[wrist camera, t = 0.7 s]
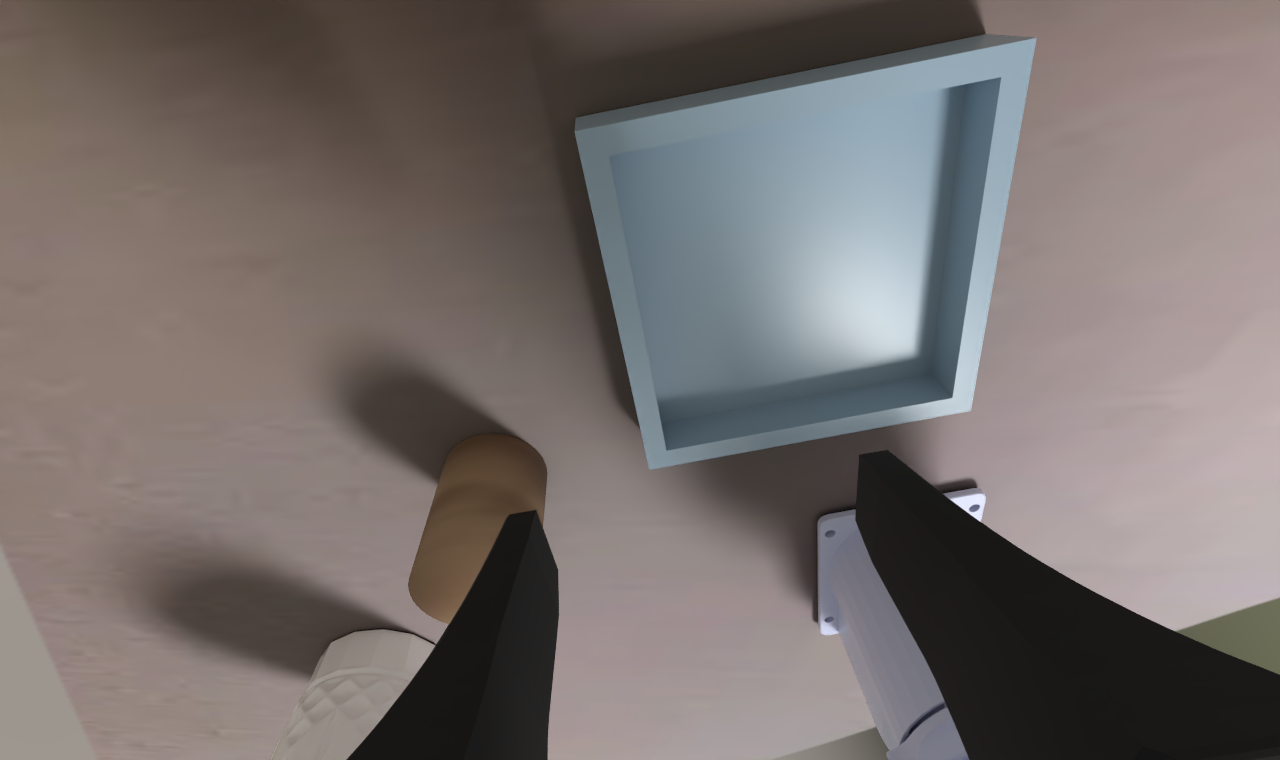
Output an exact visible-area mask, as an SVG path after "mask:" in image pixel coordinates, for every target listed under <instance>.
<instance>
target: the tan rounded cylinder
mask: <svg viewBox="0 0 1280 760" xmlns="http://www.w3.org/2000/svg"><path fill="white" fill-rule="evenodd" d="M546 483H547V468H546V464H545V462H544V460H543V458H542V456H541V455H540V454H539V452H538V451H537V450H536V449H535V448H533V447H532V446H531V445H530V444H528V443H527V442H525V441H523V440H521V439H518V438H516V437H513V436H509V435H505V434H496V433H490V434H480V435H476V436H472V437H470V438H467V439H465V440H463V441H461V442H460V443H458V444H457V445H456V446H455V447H454V448H453V449H452V450H451V451H450V452H449V454H448V456H447V458H446V460H445V463H444V467H443V470H442V473H441V476H440V480H439V483H438V486H437V489H436V493H435V496H434V499H433V502H432V506H431V509H430V512H429V515H428V519H427V522H426V525H425V528H424V532H423V535H422V538H421V541H420V545H419V548H418V551H417V554H416V558H415V561H414V564H413V567H412V571H411V574H410V577H409V583H408V587H409V592H410V595H411V597H412V599H413V601H414V602H415V604H416V605H417V606H418V607H419V608H420V609H421V610H422V611H424V612H425V613H426V614H428V615H429V616H431V617H433V618H435V619H437V620H439V621H442V622H444V623H447V624H450V622H451V620H452V619H453V617H454V615H455V614H456V612H457V611H458V609H459V607H460V606H461V604H462V602H463V601H464V599H465V597H466V595H467V593H468V592H469V590H470V588H471V586H472V584H473V583H474V581H475V579H476V577H477V575H478V573H479V572H480V570H481V568H482V566H483V564H484V562H485V560H486V558H487V556H488V554H489V552H490V550H491V548H492V546H493V544H494V542H495V540H496V538H497V536H498V534H499V532H500V530H501V528H502V526H503V524H504V522H505V519H506V518H507V517H508V515H509V514H514V513H520V512H526V511H532V510H536V511H537V513H538V516H539V519H540V522H541V524H542V527H543V519H544V507H545V495H546Z"/></svg>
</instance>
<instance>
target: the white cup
mask: <svg viewBox="0 0 1280 760" xmlns="http://www.w3.org/2000/svg"><path fill="white" fill-rule="evenodd" d="M434 647H435V645H434V644H432V643H430V642H428V641H426V640H424V639H422V638H420V637H418V636H415V635H413V634H409V633H404V632H398V631H392V630H386V629H380V630H368V631H358V632H353V633H351V634H349V635H346V636H344V637H342V638H339V639H337V640H335V641H333V642H331V644H330V645H329V646H328V648H327V649H326V651H325V652H324V653H323V655H322V656H321V658H320V659H319V662H318V664H317V666H316V668H315V670H314V673H313V675H312V677H311V679H310V681H309V684H308V686H307V688H306V690H305V693H304V695H303V696H302V697H301V698H300V699H299V701H298V703H297V705H296V707H295V709H294V711H293V713H292V715H291V717H290V720H289V722H288V723H287V725H286V727H285V729H284V731H283V733H282V735H281V737H280V739H279V741H278V743H277V745H276V747H275V749H274V751H273V754H272V756H271V758H270V760H346V759H347V758H348V757H349V756H350V755H351V754H352V753H353V752H354V750H355V749H356V748H357V747H358V746H359V745H360V744H361V743H362V742H363V740H364V739H365V738H366V737H367V736H368V735H369V733H370V732H371V731H372V730H373V729H374V728H375V726H376V725H377V724H378V723H379V721H380V720H381V719H382V718H383V717H384V715H385V714H386V713H387V711H388V710H389V709H390V708H391V706H392V705H393V704H394V702H395V701H396V700H397V699H398V697H399V696H400V695H401V693H402V692H403V691H404V690H405V688H406V687H407V686H408V684H409V683H410V682H411V680H412V679H413V677H414V676H415V675H416V673H417V672H418V671H419V669H420V668H421V666H422V665H423V664H424V662H425V661H426V659H427V658H428V656H429V655H430V653H431V652H432V650H433V649H434Z"/></svg>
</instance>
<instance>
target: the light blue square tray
mask: <svg viewBox="0 0 1280 760" xmlns="http://www.w3.org/2000/svg"><path fill="white" fill-rule="evenodd" d="M1035 44H1036V38H1032V37H1019V36H1006V35H994V34H984V35H979V36H975V37H970V38H965V39H960V40H955V41H950V42H945V43H940V44H935V45H930V46H925V47H921V48H916V49H911V50H906V51H901V52H896V53H891V54H886V55H881V56H876V57H871V58H866V59H862V60H857V61H852V62H847V63H842V64H837V65H832V66H827V67H822V68H817V69H812V70H808V71H803V72H798V73H793V74H788V75H783V76H778V77H773V78H768V79H763V80H758V81H753V82H749V83H744V84H739V85H734V86H729V87H724V88H719V89H714V90H709V91H704V92H699V93H695V94H690V95H685V96H680V97H675V98H670V99H665V100H660V101H655V102H650V103H645V104H640V105H636V106H631V107H626V108H621V109H616V110H611V111H606V112H601V113H596V114H591V115H586V116H581V117H577V118H576V120H575V130H574V132H575V137H576V141H577V146H578V150H579V155H580V159H581V164H582V168H583V173H584V177H585V182H586V186H587V191H588V195H589V200H590V204H591V209H592V213H593V218H594V222H595V227H596V231H597V236H598V240H599V245H600V249H601V254H602V258H603V263H604V267H605V272H606V276H607V281H608V285H609V290H610V294H611V299H612V303H613V308H614V312H615V317H616V321H617V326H618V330H619V335H620V340H621V344H622V349H623V353H624V358H625V362H626V367H627V371H628V376H629V380H630V385H631V389H632V394H633V398H634V403H635V407H636V412H637V416H638V421H639V425H640V430H641V434H642V439H643V443H644V448H645V452H646V457H647V461H648V466H649V470H652V469H657V468H663V467H668V466H673V465H679V464H684V463H690V462H695V461H701V460H706V459H712V458H717V457H722V456H728V455H733V454H739V453H744V452H750V451H755V450H761V449H766V448H771V447H777V446H782V445H788V444H793V443H799V442H804V441H810V440H815V439H820V438H826V437H831V436H837V435H842V434H848V433H853V432H859V431H864V430H870V429H875V428H880V427H886V426H891V425H897V424H902V423H908V422H913V421H919V420H924V419H929V418H935V417H940V416H946V415H951V414H957V413H962V412H968V411H971V406H972V400H973V395H974V389H975V383H976V378H977V372H978V366H979V361H980V355H981V349H982V344H983V338H984V332H985V327H986V321H987V315H988V310H989V304H990V299H991V293H992V287H993V282H994V276H995V270H996V265H997V259H998V253H999V248H1000V242H1001V236H1002V231H1003V225H1004V219H1005V214H1006V208H1007V202H1008V197H1009V191H1010V185H1011V180H1012V174H1013V168H1014V163H1015V157H1016V151H1017V146H1018V140H1019V134H1020V129H1021V123H1022V117H1023V112H1024V106H1025V100H1026V95H1027V89H1028V83H1029V78H1030V72H1031V66H1032V61H1033V55H1034V49H1035Z"/></svg>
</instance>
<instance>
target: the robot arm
mask: <svg viewBox="0 0 1280 760" xmlns="http://www.w3.org/2000/svg"><path fill="white" fill-rule="evenodd" d="M985 500H986V495H985V494H984V493H983V492H982V490H981V489H979V488H971V489H966V490H960V491H955V492H949V493H943V494H942V493H941V492H940V491H938V490H937V489H936V488H935V487H933V486H932V485H931V484H929V483H928V482H927V481H926V480H924V479H923V478H922V477H921V476H919V475H918V474H917V473H916V472H914V471H913V470H912V469H911V468H909V467H908V466H907V465H906V464H904V463H903V462H902V461H901V460H899V459H898V458H897V457H896V456H894V455H893V454H892V453H890V452H889V451H888V450H885V451H879V452H874V453H868V454H862V455H859V469H858V485H857V500H856V509H854V510H849V511H843V512H838V513H832V514H827V515H824V516H822V517H821V518H820V519H819V520H818V627H819V630H820V632H821V633H822V634H823V635H831V634H837V633H839V634H840V636H841V639H842V641H843V644H844V646H845V649H846V651H847V654H848V656H849V659H850V661H851V664H852V666H853V669H854V671H855V674H856V676H857V679H858V681H859V684H860V686H861V689H862V691H863V694H864V696H865V699H866V701H867V704H868V706H869V709H870V711H871V714H872V717H873V719H874V722H875V724H876V727H877V728H878V731H879V733H880V735H881V737H882V739H883V741H884V742H885V744H886V746H887V747H888V748H889V750H890V751H888V752H887V754H886V755H887V758H888V760H1280V675H1279V674H1276V673H1274V672H1271V671H1269V670H1266V669H1264V668H1261V667H1259V666H1256V665H1253V664H1251V663H1248V662H1246V661H1243V660H1241V659H1238V658H1236V657H1233V656H1231V655H1227V654H1225V653H1223V652H1221V651H1218V650H1216V649H1213V648H1211V647H1209V646H1207V645H1204V644H1202V643H1200V642H1198V641H1195V640H1193V639H1191V638H1188V637H1186V636H1184V635H1182V634H1179V633H1177V632H1175V631H1173V630H1170V629H1168V628H1166V627H1164V626H1162V625H1160V624H1158V623H1155V622H1153V621H1151V620H1149V619H1147V618H1145V617H1143V616H1141V615H1139V614H1136V613H1134V612H1132V611H1131V610H1129V609H1127V608H1125V607H1123V606H1121V605H1119V604H1117V603H1115V602H1113V601H1111V600H1109V599H1107V598H1105V597H1103V596H1101V595H1099V594H1097V593H1095V592H1093V591H1091V590H1090V589H1088V588H1086V587H1084V586H1082V585H1080V584H1079V583H1077V582H1075V581H1073V580H1071V579H1070V578H1068V577H1066V576H1065V575H1063V574H1061V573H1059V572H1058V571H1056V570H1054V569H1053V568H1051V567H1049V566H1047V565H1046V564H1044V563H1042V562H1041V561H1039V560H1037V559H1036V558H1034V557H1032V556H1031V555H1029V554H1027V553H1026V552H1024V551H1023V550H1021V549H1020V548H1018V547H1017V546H1015V545H1014V544H1012V543H1011V542H1009V541H1008V540H1006V539H1005V538H1003V537H1002V536H1000V535H999V534H997V533H996V532H994V531H993V530H991V529H990V528H988V527H987V526H986V525H984V524H983V523H981V519H982V514H983V509H984V505H985ZM829 530H830V531H829ZM558 618H559V591H558V569H557V566H556V563H555V560H554V558H553V555H552V552H551V549H550V547H549V544H548V541H547V538H546V535H545V533H544V530H543V527H542V524H541V522H540V519H539V516H538V513H537V511H536V510H532V511H526V512H520V513H514V514H509V515H508V517H507V518H506V519H505V522H504V524H503V526H502V528H501V530H500V532H499V534H498V536H497V538H496V540H495V542H494V544H493V546H492V548H491V550H490V552H489V554H488V556H487V558H486V560H485V562H484V564H483V566H482V568H481V570H480V572H479V573H478V575H477V577H476V579H475V581H474V583H473V584H472V586H471V588H470V590H469V592H468V593H467V595H466V597H465V599H464V601H463V602H462V604H461V606H460V607H459V609H458V611H457V612H456V614H455V615H454V617H453V619H452V620H451V622H450V624H449V625H448V627H447V628H446V630H445V632H444V633H443V635H442V637H441V638H440V640H439V641H438V643H437V644H436V646H435V647H434V649H433V650H432V652H431V653H430V655H429V656H428V658H427V659H426V661H425V662H424V664H423V665H422V666H421V668H420V669H419V671H418V672H417V673H416V675H415V676H414V677H413V679H412V680H411V682H410V683H409V684H408V686H407V687H406V688H405V690H404V691H403V692H402V693H401V695H400V696H399V697H398V699H397V700H396V701H395V702H394V704H393V705H392V706H391V708H390V709H389V710H388V711H387V713H386V714H385V715H384V717H383V718H382V719H381V720H380V721H379V723H378V724H377V725H376V726H375V728H374V729H373V730H372V731H371V732H370V733H369V735H368V736H367V737H366V738H365V739H364V740H363V742H362V743H361V744H360V745H359V746H358V747H357V748H356V749H355V750H354V752H353V753H352V754H351V755H350V756H349V757H348V758H347V759H346V760H547V751H548V724H549V711H550V701H551V691H552V681H553V671H554V661H555V650H556V640H557V629H558Z"/></svg>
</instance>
